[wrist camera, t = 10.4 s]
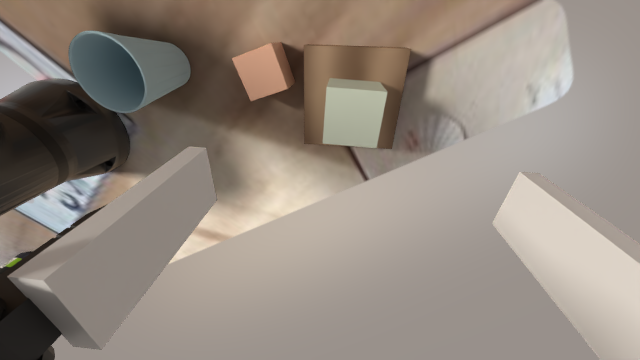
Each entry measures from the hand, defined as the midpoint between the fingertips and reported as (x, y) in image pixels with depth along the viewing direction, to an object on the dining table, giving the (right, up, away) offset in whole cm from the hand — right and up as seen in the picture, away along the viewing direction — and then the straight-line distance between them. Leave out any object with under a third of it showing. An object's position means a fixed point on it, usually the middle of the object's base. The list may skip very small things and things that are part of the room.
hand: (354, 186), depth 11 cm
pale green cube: (+2, +10, +20) cm, 22 cm away
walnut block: (+3, +12, +23) cm, 26 cm away
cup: (-22, +16, +23) cm, 36 cm away
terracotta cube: (-8, +15, +22) cm, 28 cm away
